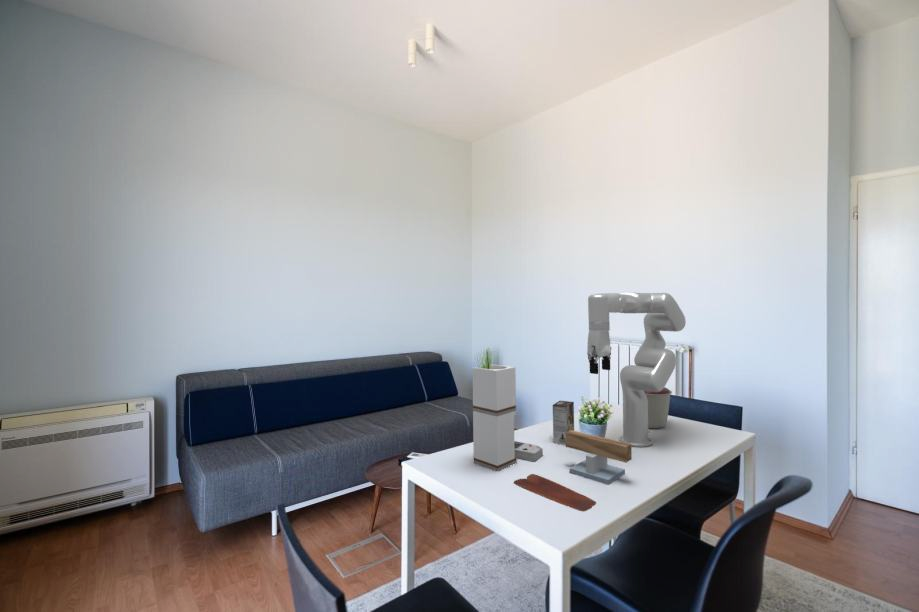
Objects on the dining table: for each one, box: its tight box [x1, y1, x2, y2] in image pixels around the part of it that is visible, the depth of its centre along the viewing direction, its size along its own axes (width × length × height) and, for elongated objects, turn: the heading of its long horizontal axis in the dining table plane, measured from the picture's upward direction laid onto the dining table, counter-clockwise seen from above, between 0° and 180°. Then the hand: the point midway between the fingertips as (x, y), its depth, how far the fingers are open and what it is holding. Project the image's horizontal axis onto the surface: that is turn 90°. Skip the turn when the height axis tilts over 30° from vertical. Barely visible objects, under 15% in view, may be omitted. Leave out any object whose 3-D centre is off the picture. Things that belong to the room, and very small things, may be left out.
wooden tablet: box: [513, 473, 597, 512], centre depth 132 cm, size 27×10×2 cm, turn 39°
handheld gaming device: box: [514, 440, 544, 462], centre depth 164 cm, size 9×15×4 cm, turn 57°
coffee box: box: [552, 400, 575, 446], centre depth 179 cm, size 9×6×16 cm
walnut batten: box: [565, 430, 633, 463], centre depth 146 cm, size 4×22×5 cm, turn 44°
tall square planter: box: [471, 363, 518, 472], centre depth 156 cm, size 11×11×35 cm
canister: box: [643, 386, 673, 429], centre depth 200 cm, size 18×18×21 cm
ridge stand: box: [568, 453, 626, 486], centre depth 146 cm, size 12×14×7 cm
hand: (600, 371), depth 163 cm, fingers open, 9 cm apart
